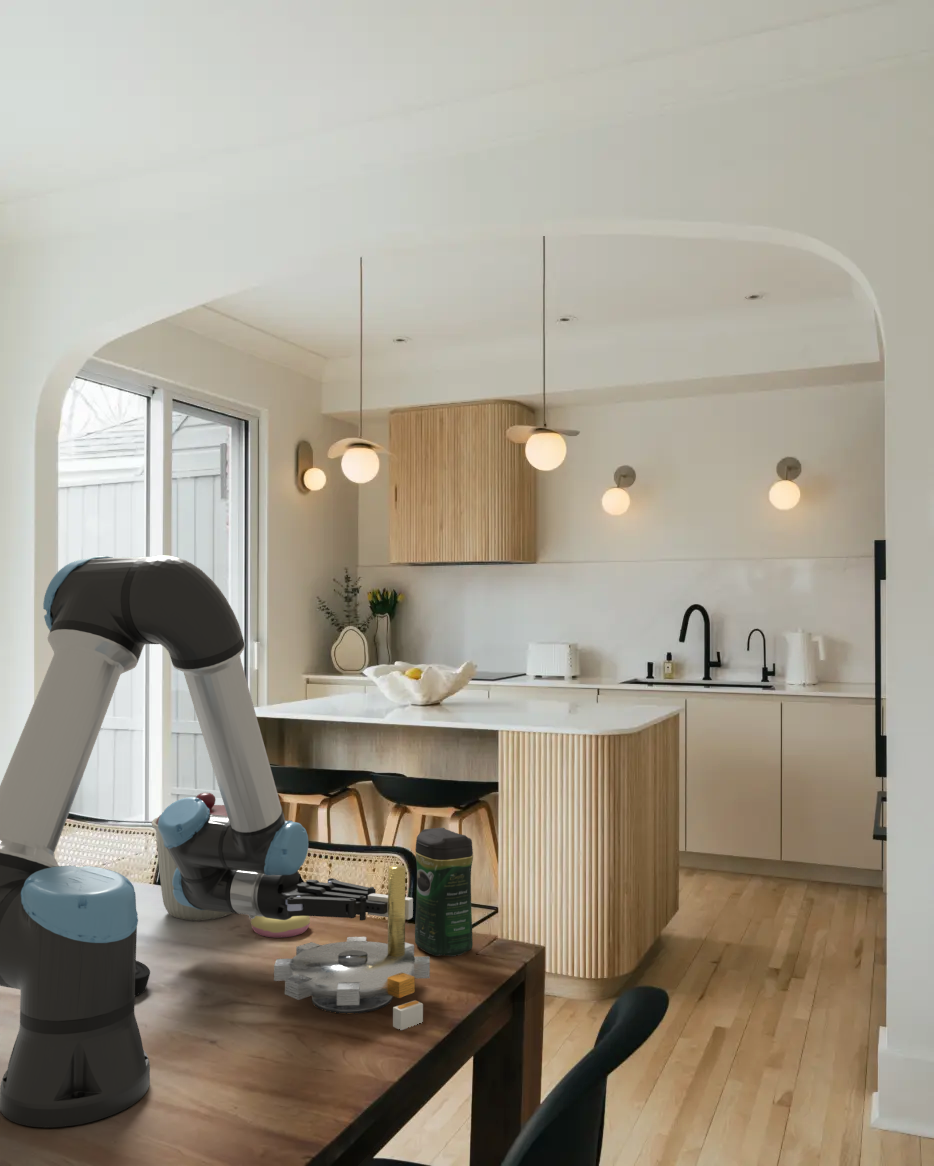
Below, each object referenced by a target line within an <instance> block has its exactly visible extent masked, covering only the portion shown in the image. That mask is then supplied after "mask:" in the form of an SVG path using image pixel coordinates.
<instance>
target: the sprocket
mask: <svg viewBox="0 0 934 1166" xmlns="http://www.w3.org/2000/svg"><path fill="white" fill-rule="evenodd" d="M387 870H388V871H387V873H388V874H387V877H388V878H387V880H388V881H387V882H388V883H387V884H388V886H387V895H388V917H387V943H385V942H379V941H367V936H347V937H346V941H340V942H332V943H326V944H319V943H315V942H313V941H310V942H307V943H305V944H300V945H297V946H296V950H295V955H294V956H293V957H292V958H276V960H275V963H274V965H273V981H275V982H277V981H278V982H280V981H281V982H283V981H284V995H286V996H287V997H290V998H293V999H295V1000H298V1001H299V1000H300V1001H301V1000H302V999H305V998H308V997H310V996H311V997H312V996H316V997H322V998H330V999H337V1005H359V1003H360V999H363V998H371V997H377V996H382V995H386V994H389V995H392V996H393V997H394V998H397V999H402V998H403V997H405V996H409V995H411V994H413V993H415V987H416V986H415V979H430V978H431V975H430V974H431V973H430V971H431V969H430V968H431V966H430V964H431V963H430V961H431V959H430V956H415V945H414V943H409V942H406V919H405V897H406V865H401V864H392V865H389V866H388V869H387Z"/></svg>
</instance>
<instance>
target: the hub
mask: <svg viewBox="0 0 934 1166" xmlns="http://www.w3.org/2000/svg"><path fill="white" fill-rule="evenodd" d="M393 998H394V996H392V995H389V994H386V995H382V996H377V997H371V998H363V999H360V1003H359V1005H337V999H330V998H322V997H316V996H312V995H311V1003H312V1004H313V1005H315V1006H314V1007H316V1008H317V1009H319V1010H321V1009H323V1010H322V1011H324V1010H326V1011H325V1012H327V1011H331V1012H336V1013H335V1014H339V1013H346V1014H345V1015H348V1014H347V1013H354V1014H355V1013H358V1014H364V1013H369V1012H374V1011H377V1010H381V1009H383V1008H385V1007H387V1006H388V1005H390V1004H391V1002H392V1001H393ZM331 1012H330V1013H331ZM354 1014H353V1015H354ZM355 1015H356V1014H355Z"/></svg>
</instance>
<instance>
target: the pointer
mask: <svg viewBox="0 0 934 1166" xmlns="http://www.w3.org/2000/svg"><path fill="white" fill-rule="evenodd" d="M422 1022H423V1023H424V1004H423V1003H422V1002H420V1001H418V1000H416V999H415V1000H411V1001H409V1002H405V1003H402V1004H399V1005H396V1006H393V1007H392V1027H393V1028H395V1029H397V1030H399V1029H400V1030H399V1031H403V1030H407V1029H409V1028H412V1027H414V1025H415V1026H418V1025H420V1024H419V1023H421V1024H423V1023H422ZM417 1024H418V1025H417ZM411 1026H412V1027H411ZM408 1027H409V1028H408Z"/></svg>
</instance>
